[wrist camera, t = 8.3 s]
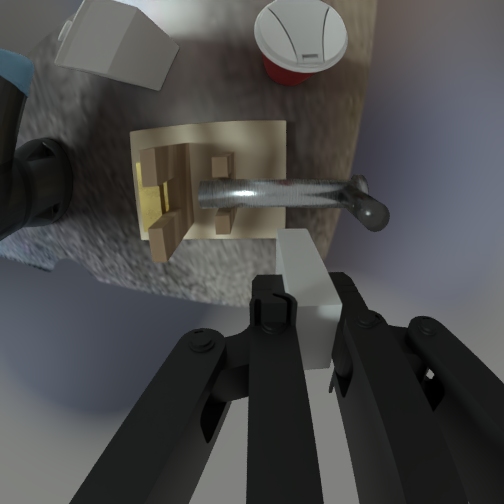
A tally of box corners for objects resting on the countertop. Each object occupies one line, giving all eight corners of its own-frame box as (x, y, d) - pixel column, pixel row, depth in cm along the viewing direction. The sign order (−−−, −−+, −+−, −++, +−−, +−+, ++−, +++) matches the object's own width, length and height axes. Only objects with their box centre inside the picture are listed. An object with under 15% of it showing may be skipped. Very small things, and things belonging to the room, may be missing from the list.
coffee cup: (322, 91, 32) (360, 69, 18) (261, 97, 33) (261, 73, 19) (312, 37, 29) (340, -10, 15) (251, 41, 29) (246, -8, 16)
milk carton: (180, 47, 30) (120, -8, 12) (160, 91, 32) (82, 67, 15) (138, 38, 29) (62, -6, 11) (119, 81, 31) (31, 62, 14)
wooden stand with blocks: (144, 237, 41) (101, 282, 28) (133, 131, 35) (77, 136, 22) (284, 235, 40) (295, 284, 28) (285, 121, 34) (299, 113, 21)
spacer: (165, 212, 38) (144, 232, 31) (160, 156, 35) (136, 162, 28) (181, 212, 38) (164, 231, 31) (177, 154, 35) (156, 160, 28)
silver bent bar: (206, 209, 32) (182, 244, 22) (204, 171, 30) (177, 190, 21) (353, 209, 32) (390, 243, 22) (356, 172, 30) (397, 191, 20)
